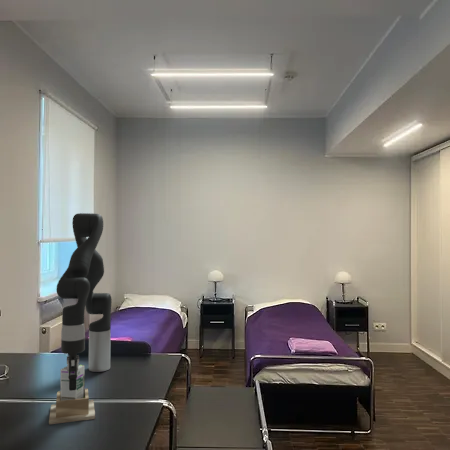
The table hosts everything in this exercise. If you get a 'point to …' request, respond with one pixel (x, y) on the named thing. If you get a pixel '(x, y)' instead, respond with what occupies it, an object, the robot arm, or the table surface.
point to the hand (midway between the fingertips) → (72, 385)
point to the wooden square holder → (72, 409)
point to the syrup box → (80, 384)
